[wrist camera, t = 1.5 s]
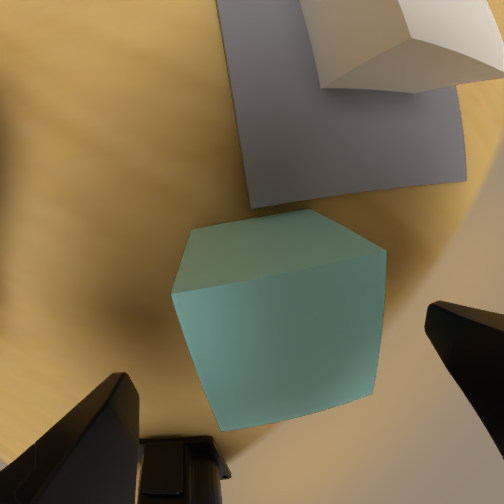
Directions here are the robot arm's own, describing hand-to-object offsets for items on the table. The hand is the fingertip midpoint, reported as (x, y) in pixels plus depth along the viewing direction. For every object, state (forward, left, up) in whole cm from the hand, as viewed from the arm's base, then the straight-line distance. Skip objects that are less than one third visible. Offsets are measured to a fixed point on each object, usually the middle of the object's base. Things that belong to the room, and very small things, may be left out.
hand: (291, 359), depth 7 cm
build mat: (+10, -6, -6) cm, 13 cm away
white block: (+10, -6, -5) cm, 13 cm away
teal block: (0, 0, -6) cm, 6 cm away
